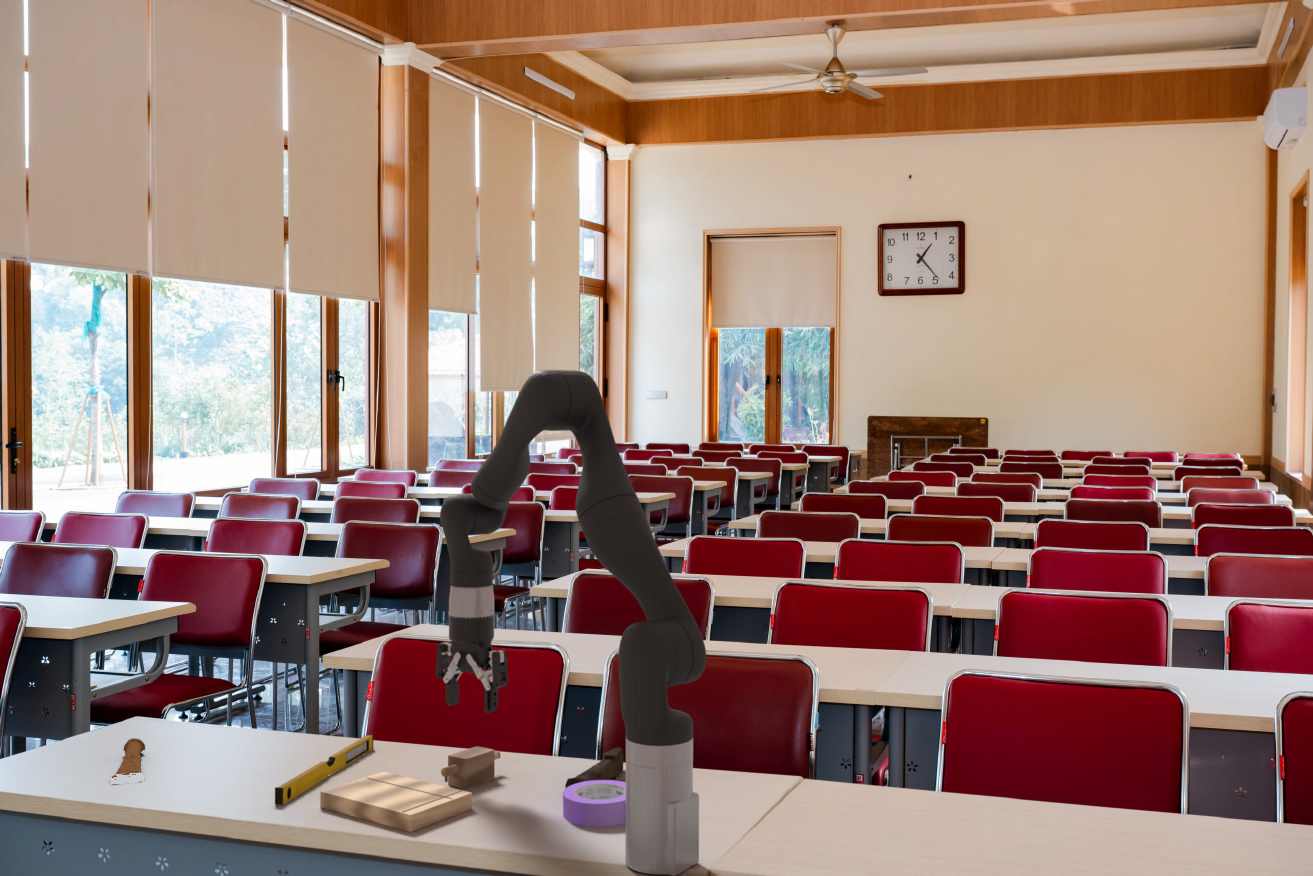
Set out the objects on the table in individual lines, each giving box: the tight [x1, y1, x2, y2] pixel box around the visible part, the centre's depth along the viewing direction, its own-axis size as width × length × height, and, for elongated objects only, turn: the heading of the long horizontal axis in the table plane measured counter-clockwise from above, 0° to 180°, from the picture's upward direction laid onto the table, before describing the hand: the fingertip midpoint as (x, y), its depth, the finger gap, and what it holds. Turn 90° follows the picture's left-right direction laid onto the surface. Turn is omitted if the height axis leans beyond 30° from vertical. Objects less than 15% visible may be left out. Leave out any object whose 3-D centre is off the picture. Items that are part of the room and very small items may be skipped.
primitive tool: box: [111, 737, 146, 780], centre depth 205 cm, size 19×6×4 cm, turn 23°
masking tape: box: [562, 779, 626, 828], centre depth 181 cm, size 12×12×4 cm
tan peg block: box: [440, 746, 501, 790], centre depth 198 cm, size 4×13×5 cm, turn 146°
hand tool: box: [564, 746, 624, 790], centre depth 196 cm, size 19×4×5 cm, turn 156°
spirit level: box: [274, 733, 374, 806], centre depth 202 cm, size 33×1×3 cm, turn 169°
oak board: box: [319, 771, 473, 833], centre depth 184 cm, size 20×13×3 cm, turn 56°
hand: (471, 708), depth 198 cm, fingers open, 8 cm apart
